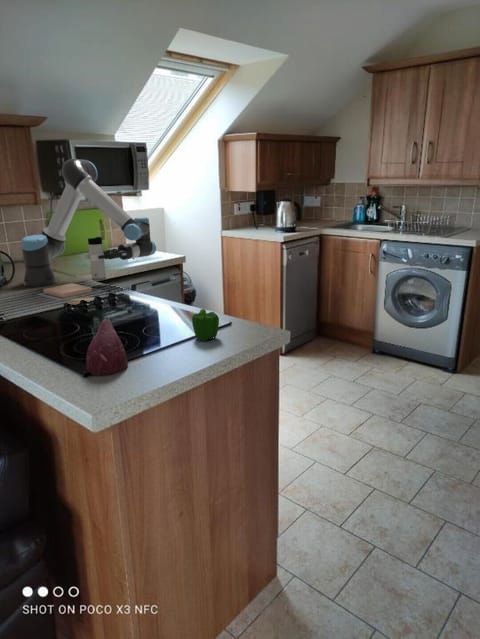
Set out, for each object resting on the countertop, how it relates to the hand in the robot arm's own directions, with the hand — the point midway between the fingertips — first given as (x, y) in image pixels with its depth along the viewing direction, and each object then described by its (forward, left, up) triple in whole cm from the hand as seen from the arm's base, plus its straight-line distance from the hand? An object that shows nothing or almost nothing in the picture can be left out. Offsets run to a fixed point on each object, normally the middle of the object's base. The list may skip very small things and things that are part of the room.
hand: (87, 257), depth 210 cm
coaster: (+26, 0, -15) cm, 30 cm away
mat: (+6, -8, -15) cm, 18 cm away
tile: (+2, -4, -13) cm, 14 cm away
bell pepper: (+83, +44, -15) cm, 95 cm away
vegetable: (+101, +16, -15) cm, 103 cm away
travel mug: (-3, +4, -11) cm, 12 cm away
